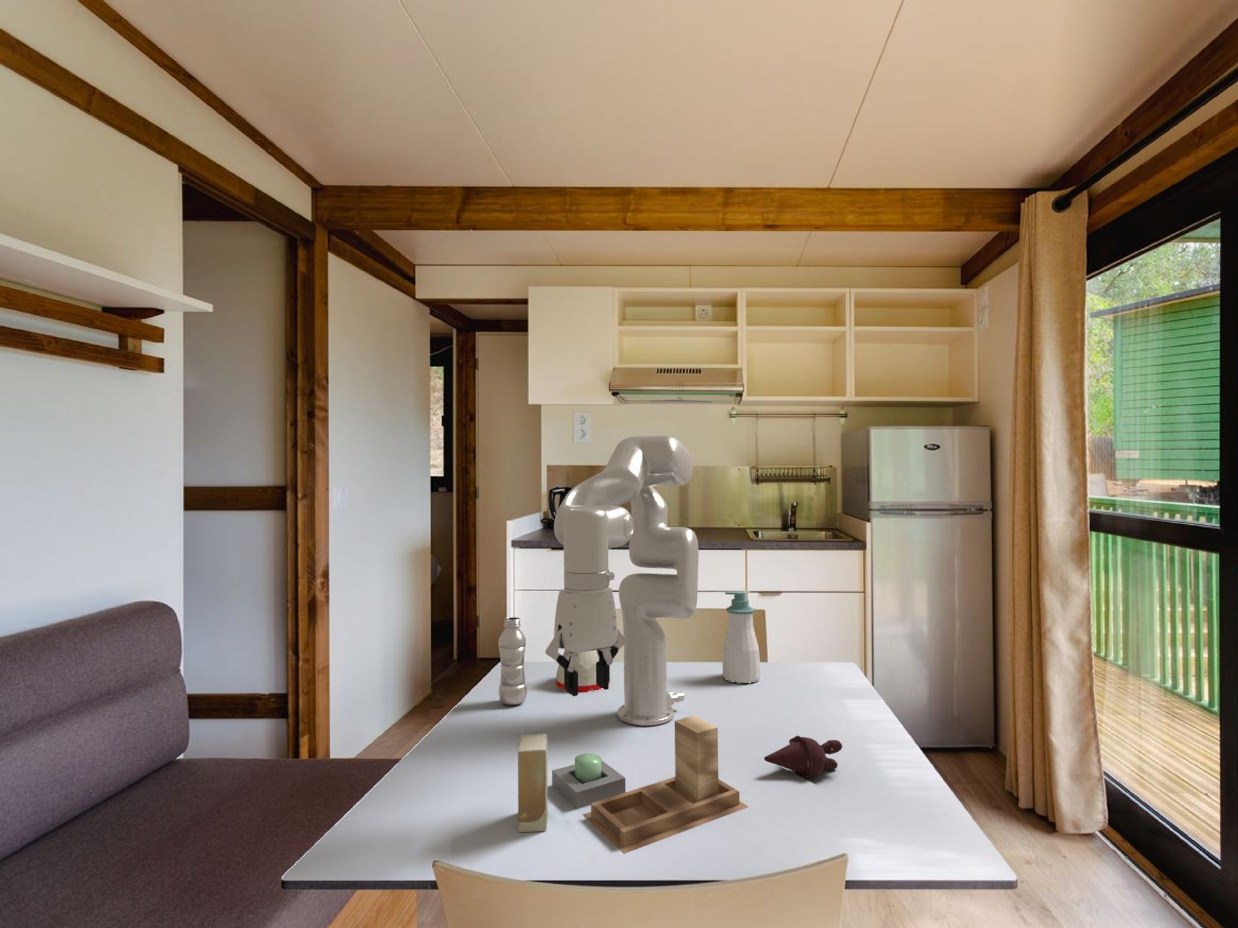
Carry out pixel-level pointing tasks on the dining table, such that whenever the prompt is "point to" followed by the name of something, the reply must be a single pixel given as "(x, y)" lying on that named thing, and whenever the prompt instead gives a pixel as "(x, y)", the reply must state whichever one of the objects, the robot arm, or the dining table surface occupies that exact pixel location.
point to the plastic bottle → (512, 663)
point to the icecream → (806, 756)
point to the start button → (587, 767)
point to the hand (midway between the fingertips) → (587, 689)
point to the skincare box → (532, 783)
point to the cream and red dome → (582, 672)
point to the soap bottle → (740, 642)
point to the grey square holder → (587, 785)
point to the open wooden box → (657, 813)
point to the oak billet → (696, 759)
